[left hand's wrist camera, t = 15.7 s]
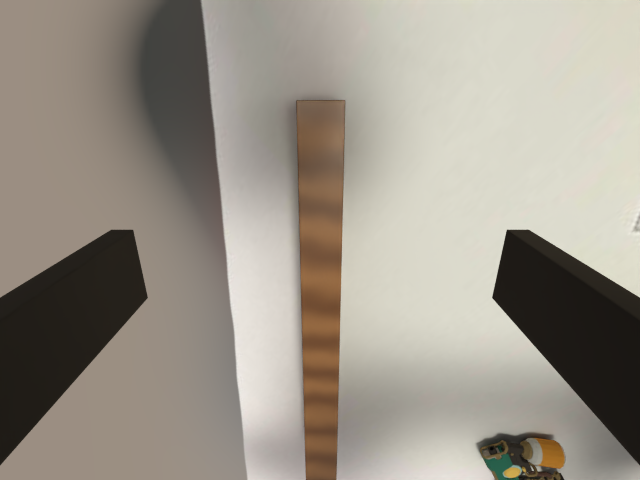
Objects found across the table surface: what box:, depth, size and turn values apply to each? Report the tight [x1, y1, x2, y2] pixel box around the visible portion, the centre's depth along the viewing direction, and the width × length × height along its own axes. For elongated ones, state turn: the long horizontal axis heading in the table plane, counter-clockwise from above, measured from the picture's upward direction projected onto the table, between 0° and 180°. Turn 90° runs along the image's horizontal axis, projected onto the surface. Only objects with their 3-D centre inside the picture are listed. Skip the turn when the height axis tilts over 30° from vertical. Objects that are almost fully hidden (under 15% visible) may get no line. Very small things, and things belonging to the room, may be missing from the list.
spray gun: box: [480, 438, 565, 480], centre depth 62 cm, size 4×17×15 cm
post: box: [296, 100, 345, 480], centre depth 47 cm, size 54×5×8 cm, turn 0°
